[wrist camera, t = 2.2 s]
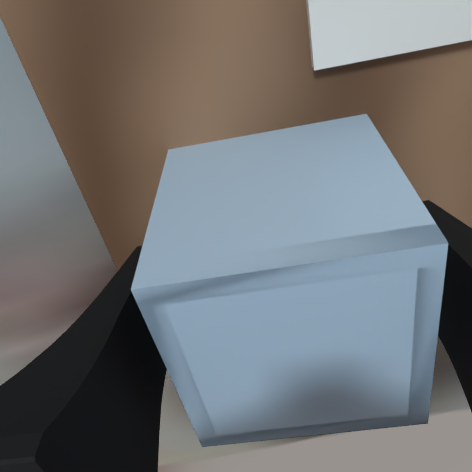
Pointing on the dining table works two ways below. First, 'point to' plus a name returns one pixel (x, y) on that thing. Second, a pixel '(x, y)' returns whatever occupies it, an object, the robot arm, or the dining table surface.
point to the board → (224, 95)
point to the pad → (383, 28)
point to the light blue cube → (293, 284)
